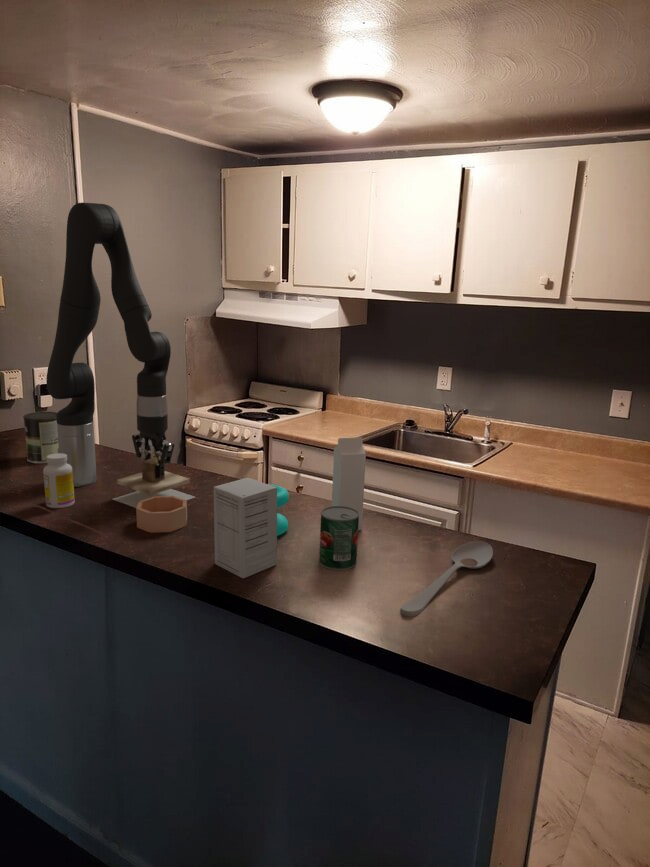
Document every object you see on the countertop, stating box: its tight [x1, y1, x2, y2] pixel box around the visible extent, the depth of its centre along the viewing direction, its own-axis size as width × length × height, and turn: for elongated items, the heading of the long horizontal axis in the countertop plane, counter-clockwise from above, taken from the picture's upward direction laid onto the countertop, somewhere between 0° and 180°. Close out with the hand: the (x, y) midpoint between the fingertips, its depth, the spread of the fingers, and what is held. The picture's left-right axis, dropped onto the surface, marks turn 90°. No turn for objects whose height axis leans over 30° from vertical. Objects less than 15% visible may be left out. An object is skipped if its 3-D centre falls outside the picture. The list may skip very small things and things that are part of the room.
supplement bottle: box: [42, 453, 76, 509], centre depth 149 cm, size 7×7×13 cm
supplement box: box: [213, 477, 278, 579], centre depth 120 cm, size 10×9×17 cm
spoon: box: [399, 540, 494, 618], centre depth 119 cm, size 35×8×3 cm, turn 143°
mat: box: [112, 488, 196, 509], centre depth 156 cm, size 15×15×1 cm
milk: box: [331, 436, 367, 531], centre depth 141 cm, size 6×6×22 cm
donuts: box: [270, 484, 290, 537], centre depth 138 cm, size 10×10×10 cm
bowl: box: [135, 496, 188, 534], centre depth 140 cm, size 11×11×5 cm
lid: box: [116, 457, 191, 495], centre depth 155 cm, size 13×13×6 cm
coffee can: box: [22, 411, 59, 465], centre depth 185 cm, size 10×10×14 cm
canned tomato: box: [318, 505, 359, 571], centre depth 124 cm, size 8×8×11 cm
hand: (153, 476), depth 155 cm, fingers closed on lid, 4 cm apart
